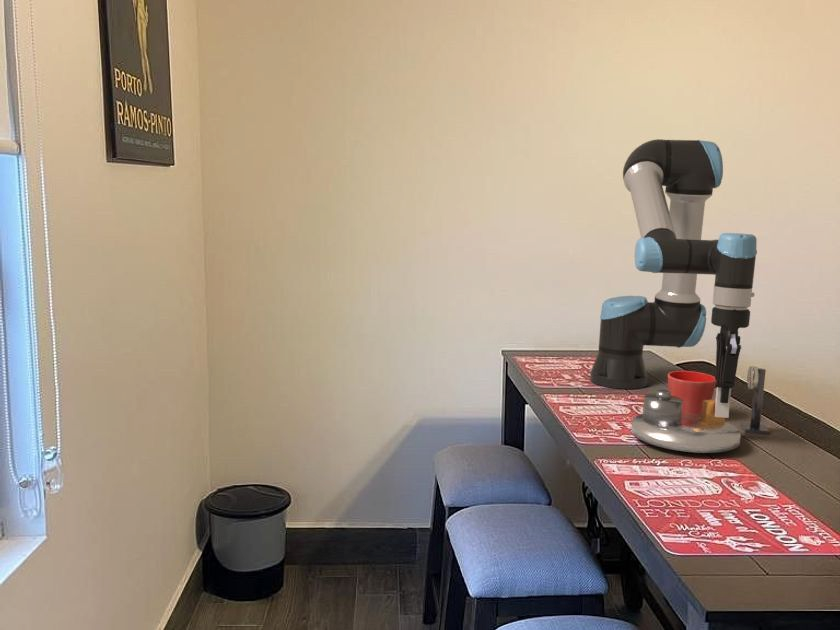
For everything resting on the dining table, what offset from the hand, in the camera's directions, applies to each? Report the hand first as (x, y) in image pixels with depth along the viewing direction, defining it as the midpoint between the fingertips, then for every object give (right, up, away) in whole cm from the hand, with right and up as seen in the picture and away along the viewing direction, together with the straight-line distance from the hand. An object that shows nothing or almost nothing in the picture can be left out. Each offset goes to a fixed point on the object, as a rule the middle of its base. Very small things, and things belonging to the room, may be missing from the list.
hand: (721, 416), depth 178 cm
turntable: (-8, -4, -1) cm, 9 cm away
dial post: (+10, -4, +8) cm, 14 cm away
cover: (-12, -1, +2) cm, 12 cm away
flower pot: (-1, -2, +18) cm, 18 cm away
